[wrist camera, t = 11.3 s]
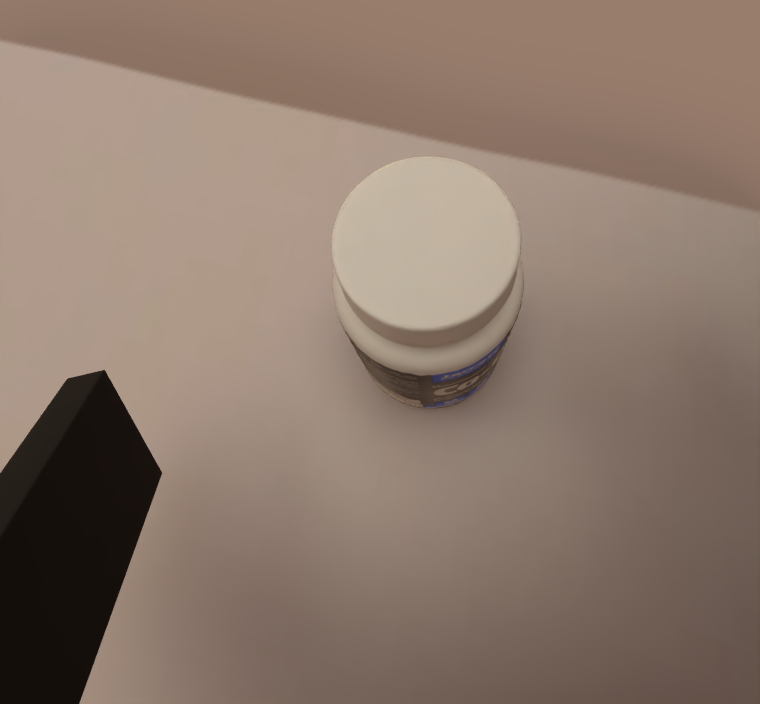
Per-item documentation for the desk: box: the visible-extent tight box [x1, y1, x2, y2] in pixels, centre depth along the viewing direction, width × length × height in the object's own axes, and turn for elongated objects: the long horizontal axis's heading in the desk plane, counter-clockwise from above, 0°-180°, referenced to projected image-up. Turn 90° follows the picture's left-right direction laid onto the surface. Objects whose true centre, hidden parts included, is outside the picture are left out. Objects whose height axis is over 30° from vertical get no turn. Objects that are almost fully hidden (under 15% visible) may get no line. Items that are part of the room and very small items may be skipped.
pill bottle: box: [331, 156, 524, 408], centre depth 16 cm, size 5×5×8 cm
